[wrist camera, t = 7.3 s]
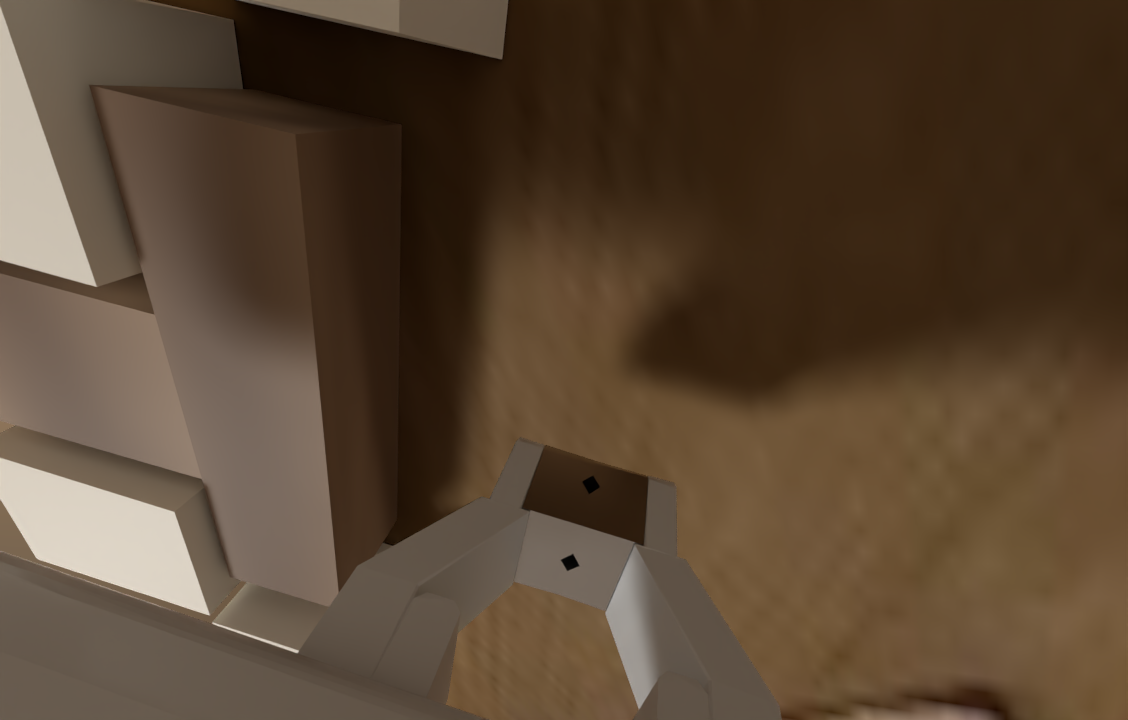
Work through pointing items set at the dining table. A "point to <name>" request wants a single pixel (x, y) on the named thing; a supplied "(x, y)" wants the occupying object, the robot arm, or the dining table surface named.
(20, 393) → the walnut T block
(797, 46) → the dining table surface
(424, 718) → the robot arm
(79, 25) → the cream T dock
